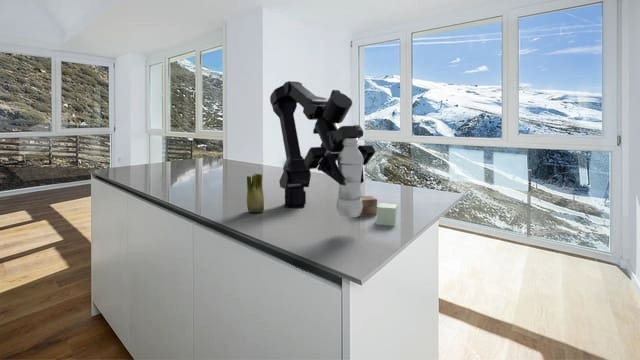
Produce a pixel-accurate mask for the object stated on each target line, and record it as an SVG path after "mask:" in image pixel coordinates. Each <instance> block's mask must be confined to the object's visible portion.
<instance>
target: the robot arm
mask: <svg viewBox="0 0 640 360" xmlns="http://www.w3.org/2000/svg"><path fill="white" fill-rule="evenodd" d="M269 101H270V105H271V107H272V110H273V111H272V112H273V113H275V115H276V116H277V118H279V122H280V129H281V133H282V141H283V145H284V151H285V152H284V153H285V159H286V160H285V161H284V165H283V167H282V170H283V172H282V174H281V177H280V179H279V187H280V188H282V189H284V208H304V207H305V205H306V204H307V203H306V202H307V199H306V198H307V195H306V193H307V192H306V190H305V188H309V187H310V181H311V177H312V173H311V170H312V169H315V170H317V171H321V172H323V173H324V174H326V175H327V176H329V177H330V178H331V179H333V180H334V181H335V182H336V183H337V184H338V185H339V184H340V185H343V184H344V181H343V178H342V175H341V173H340V171H339V169H338V163H337V158H338V155H339V154H340V152H341V151H342V149H343V148H344V146H343V139H345V138H358V140H359V139H360V138H362V137H363V136H364V131H363V128H362V127H361V125H360V124H354V125H342V126H339V125H338V124H340V123H342V122H343V121H344V120H345V118H346V116H347V114H348V113H349V111H350V109H351V107H352V105H353V100H352V99H351V98H350V97H348V96H347V95H346V94H344V93H343V92H341V91H340V90H339V89H332V91H331V92H330V96H329V98H326V97H322V96H317V95H315V94H314V93H313V92H312V91H310V90H309V89H308V88H306V87H305V86H304V85H303V83H302V82H300V81H291V80H290V81H285V82H284V84H283V85H280V86H278V87H277V88H275V89H274V90H273V91H272V93H271V94H270V97H269ZM297 104H299V105H300V106H301V107H302V109H303V111H302V113H303V115H305V117H306V118H307V120H309V121H314V120H315V121H316V122H315V124H314V127H313V131H312V132H313V133H312V134H314V135H318V136H319V138H320V141H321V144H320V146H312V147H311V146H310V148H309V149H308V151H307V153H306V156H305V157H303V156H302V154H301V149H300V142H299V137H298V132H297V125H296V121H295V112H296V110H297V107H298V105H297ZM357 148H358V149H359V151H360V152H361V154H362V155H363V159H364V162H363V166H366V165H367V164H369V162H370V161H371V159H372V158H373V156H374V155H375V154H376V150H375V148H374V146H373V145H372V144H361V145H359V144H358V146H357ZM364 178H365V177H364V167H363V168H362V174H361V184H363V183H364V181H365V180H364Z"/></svg>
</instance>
